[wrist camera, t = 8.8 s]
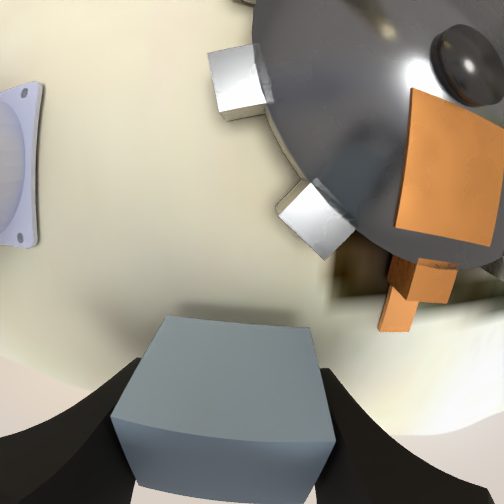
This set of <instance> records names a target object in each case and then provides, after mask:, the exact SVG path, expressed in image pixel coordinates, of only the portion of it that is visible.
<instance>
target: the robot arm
mask: <svg viewBox="0 0 504 504" xmlns="http://www.w3.org/2000/svg"><path fill="white" fill-rule="evenodd" d="M27 91H28V93H27ZM42 91H43V86H42V84H41V83H40V82H37V81H33V82H29V83H26V84H23V85H20V86H17V87H14V88H11V89H8V90H5V91H2V92H0V245H7V246H14V247H20V248H27V249H29V248H32V247H34V246H35V245H36V244H37V241H38V236H37V223H36V202H35V164H36V144H37V131H38V121H39V112H40V104H41V97H42ZM26 93H27V96H26ZM22 235H23V238H24V240H23V238H22ZM141 359H142V358H136V359H134V360H133V361H132V362H131V363H129V364H128V365H127V366H126V367H124V368H123V369H122V370H121V371H120V372H118V373H117V374H116V375H115V376H113V377H112V378H111V379H110V380H108V381H107V382H106V383H105V384H103V385H102V386H101V387H99V388H98V389H97V390H96V391H94V392H93V393H91V394H90V395H88V396H87V397H86V398H84V399H83V400H81V401H80V402H78V403H77V404H75V405H74V406H72V407H71V408H69V409H67V410H66V411H64V412H62V413H60V414H59V415H57V416H55V417H53V418H51V419H49V420H48V421H45V422H43V423H41V424H38V425H36V426H33V427H31V428H29V429H26V430H24V431H21V432H18V433H15V434H12V435H8V436H4V437H1V438H0V504H130V502H131V498H132V493H133V488H134V484H135V480H136V478H135V476H134V474H133V472H132V470H131V467H130V465H129V463H128V461H127V458H126V456H125V454H124V451H123V449H122V446H121V444H120V441H119V439H118V436H117V433H116V431H115V428H114V425H113V423H112V420H111V417H110V416H111V414H112V412H113V410H114V408H115V406H116V405H117V403H118V401H119V399H120V397H121V395H122V394H123V392H124V390H125V388H126V386H127V384H128V383H129V381H130V379H131V377H132V375H133V374H134V372H135V370H136V368H137V366H138V365H139V363H140V361H141ZM319 369H320V373H321V377H322V381H323V386H324V390H325V394H326V399H327V403H328V407H329V412H330V416H331V421H332V425H333V430H334V435H335V439H336V442H335V444H334V447H333V449H332V451H331V453H330V455H329V457H328V459H327V461H326V463H325V465H324V467H323V469H322V471H321V473H320V475H319V477H318V479H317V481H316V482H315V490H316V498H317V504H495V503H494V501H493V499H492V497H491V495H490V493H489V491H488V490H487V488H484V487H481V486H478V485H475V484H472V483H469V482H466V481H463V480H460V479H458V478H456V477H454V476H452V475H449V474H447V473H445V472H443V471H441V470H439V469H437V468H435V467H434V466H432V465H430V464H429V463H427V462H425V461H424V460H422V459H420V458H419V457H417V456H416V455H414V454H413V453H411V452H410V451H408V450H407V449H406V448H404V447H403V446H402V445H400V444H399V443H398V442H396V441H395V440H394V439H393V438H392V437H390V436H389V435H388V434H387V433H386V432H385V431H384V430H383V429H382V428H381V427H380V426H379V425H378V424H376V423H375V422H374V421H373V420H372V419H371V417H370V416H369V415H368V414H367V413H366V412H365V411H364V410H363V409H362V408H361V407H360V405H359V404H358V403H357V402H356V401H355V400H354V399H353V397H352V396H351V395H350V394H349V393H348V391H347V390H346V389H345V388H344V386H343V385H342V384H341V383H340V381H339V380H338V379H337V378H336V376H335V375H334V374H333V372H332V371H331V370H330V369H329V368H319Z"/></svg>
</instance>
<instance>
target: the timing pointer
mask: <svg viewBox="0 0 504 504" xmlns="http://www.w3.org/2000/svg"><path fill="white" fill-rule="evenodd" d="M418 303H419V302H417V301H406V300H405V299H404V298H403V297H402V296H401V294H400V293H399V292H398V291H397V290H396V289H395V288H394V287H393V286H392V285H391V284H390V287H389V291H388V294H387V298H386V302H385V305H384V309H383V312H382V316H381V319H380V322H379V326H378V330H379V331H380V332H409V330H410V327H411V324H412V321H413V318H414V315H415V312H416V309H417V306H418Z"/></svg>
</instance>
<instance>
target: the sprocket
mask: <svg viewBox="0 0 504 504" xmlns="http://www.w3.org/2000/svg"><path fill="white" fill-rule="evenodd" d="M242 1H246V2H249V3H252V4H255V7H254V13H253V26H252V41H253V44H250V45H244V46H239V47H233V48H228V49H224V50H219V51H215V52H210V53H207V54H208V59H209V64H210V69H211V74H212V79H213V84H214V89H215V94H216V99H217V104H218V109H219V112H220V114H221V115H222V116H223V117H224V119H225V120H226V121H230V120H235V119H240V118H245V117H250V116H255V115H261V114H266V117H267V120H268V122H269V125H270V128H271V130H272V132H273V134H274V135H275V137H276V139H277V141H278V143H279V145H280V147H281V149H282V151H283V153H284V154H285V156H286V157H287V159H288V160H289V162H290V163H291V165H292V166H293V168H294V169H295V171H296V172H297V174H298V175H299V176H300V178H301V180H300V181H299V182H298V183H297V184H296V186H295V187H294V188H293V189H292V190H291V191H290V192H289V193H288V194H287V195H286V196H285V197H284V198H283V199H282V200H281V201H280V202H279V203H278V204H277V205H276V206H275V207H276V210H277V213H278V216H279V217H280V218H281V219H282V220H283V221H284V222H285V223H286V224H287V225H288V226H289V227H290V228H291V229H292V230H294V231H295V232H296V233H297V234H298V235H299V236H300V237H301V238H302V239H303V240H304V241H305V242H306V243H307V244H308V245H309V246H310V247H311V248H312V249H313V250H314V251H315V252H316V253H317V254H318V255H319V256H320V257H321V258H322V259H323V260H324V261H325V260H326V259H327V258H328V257H329V256H330V255H331V254H332V253H333V252H334V251H335V250H336V249H337V248H338V247H339V246H340V245H341V244H342V243H343V242H344V241H345V240H346V239H347V238H348V237H349V236H350V235H351V234H352V233H353V232H354V231H355V230H357V231H358V232H360V233H361V234H362V235H364V236H365V237H366V238H368V239H369V240H370V241H372V242H373V243H374V244H376V245H378V246H380V247H381V248H383V249H385V250H387V251H388V252H390V253H392V254H393V256H392V260H391V264H390V268H389V272H388V276H387V279H386V280H387V281H388V282H389V283H390V284H391V285H392V286H393V287H394V288H395V289H396V290H397V291H398V292H399V293H400V294H401V296H402V297H403V298H404V299H405V300H406V301H417V302H431V303H447V302H448V299H449V296H450V293H451V290H452V287H453V284H454V281H455V278H456V274H457V271H458V270H462V269H469V268H476V267H479V266H481V268H482V269H484V270H485V271H487V272H489V273H490V274H492V275H493V276H495V277H497V278H498V279H500V280H501V281H503V282H504V0H242Z"/></svg>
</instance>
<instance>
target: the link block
mask: <svg viewBox="0 0 504 504" xmlns="http://www.w3.org/2000/svg"><path fill="white" fill-rule="evenodd" d="M110 417H111V420H112V423H113V425H114V428H115V431H116V433H117V436H118V439H119V441H120V444H121V446H122V449H123V451H124V454H125V456H126V458H127V461H128V463H129V465H130V467H131V470H132V472H133V474H134V476H135V478H136V480H137V483H138V485H139V486H143V487H146V488H150V489H155V490H159V491H164V492H168V493H173V494H178V495H183V496H189V497H195V498H202V499H209V500H218V501H226V502H238V503H254V504H304V502H305V501H306V499H307V497H308V495H309V493H310V492H311V490H312V488H313V486H314V484H315V482H316V481H317V479H318V477H319V475H320V473H321V471H322V469H323V467H324V465H325V463H326V461H327V459H328V457H329V455H330V453H331V451H332V449H333V447H334V444H335V442H336V439H335V435H334V430H333V425H332V421H331V416H330V412H329V407H328V403H327V399H326V394H325V390H324V386H323V381H322V377H321V373H320V369H319V365H318V360H317V356H316V352H315V348H314V344H313V340H312V336H311V332H310V328H304V327H286V326H271V325H257V324H245V323H234V322H224V321H214V320H204V319H195V318H187V317H179V316H171V315H167V316H166V318H165V319H164V321H163V323H162V325H161V326H160V328H159V330H158V331H157V333H156V335H155V337H154V338H153V340H152V342H151V344H150V345H149V347H148V349H147V351H146V352H145V354H144V356H143V358H142V359H141V361H140V363H139V365H138V366H137V368H136V370H135V372H134V374H133V375H132V377H131V379H130V381H129V383H128V384H127V386H126V388H125V390H124V392H123V394H122V395H121V397H120V399H119V401H118V403H117V405H116V406H115V408H114V410H113V412H112V414H111V416H110Z"/></svg>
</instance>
